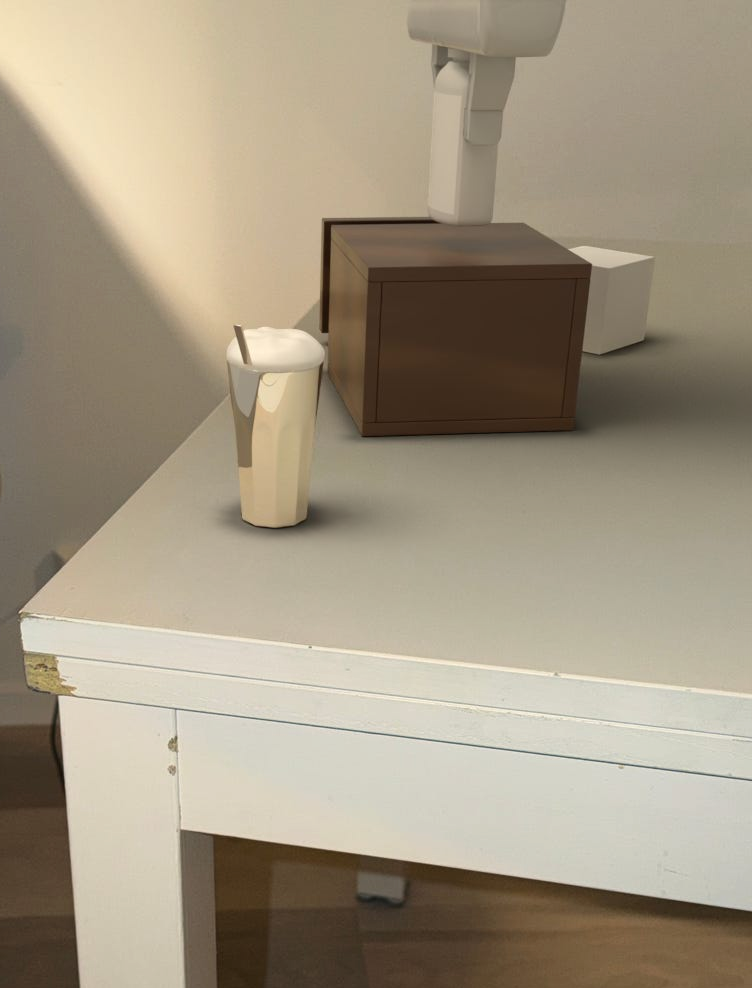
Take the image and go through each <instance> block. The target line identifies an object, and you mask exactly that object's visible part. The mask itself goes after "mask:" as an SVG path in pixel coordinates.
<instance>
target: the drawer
mask: <svg viewBox="0 0 752 988" xmlns="http://www.w3.org/2000/svg"><path fill="white" fill-rule="evenodd" d="M369 224H442V223H439V222H436V221H434V220H432V219H431V218H430V217H429V216H381V217H379V216H378V217H377V216H376V217H375V216H374V217H373V216H371V217H322V218H321V231H320V235H321V236H320V237H321V238H320V277H319V279H320V280H319V281H320V282H319V321H318V324H319V325H318V329H319V331H320V333H321V334H329V299H330V260H331V225H369Z"/></svg>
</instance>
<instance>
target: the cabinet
mask: <svg viewBox="0 0 752 988" xmlns="http://www.w3.org/2000/svg"><path fill="white" fill-rule="evenodd" d="M568 249H569V248H566V247H565V246H563V245H562V244H560V243H558V242H556V240H554V239H552V238H551V237H548V236H547V235H545V234H543V233H541V232H540V231H538V230H537V229H535V228H533V227H532V226H530V225H528V224H527V223H525V222H491V223H490V224H489V225H486V226H462V227H459V226H450V225H446V224H369V225H331V260H330V299H329V333H328V341H327V343H328V344H327V361H328V362H327V374H328V376H329V378H330V380H331V381H332V383H333V385H334V387H335V389H336V391H337V393H338V395H339V397H340V398H341V400H342V402H343V404H344V405H345V407H346V409H347V411H348V413H349V414H350V416H351V418H352V420H353V422H354V424H355V426H356V427H357V429H358V431H359V433H360V435H361V436H362V437H382V436H383V437H384V436H386V437H387V436H389V437H390V436H416V435H417V436H418V435H422V436H423V435H450V434H451V435H454V434H455V435H457V434H486V433H487V434H489V433H491V434H492V433H519V432H520V433H521V432H523V433H524V432H556V431H561V432H562V431H573V430H574V427H575V426H574V425H575V417H576V408H577V401H578V391H579V383H580V374H581V368H582V367H581V366H582V359H583V358H582V357H583V351H582V349H583V340H584V332H585V323H586V314H587V306H588V297H589V288H590V278H591V271H592V264H591V263H590V262H588V261H586V260H585V259H583V258H582V257H580V256H578V255H577V254H575V253H573V252H572V251H570V250H568Z"/></svg>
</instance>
